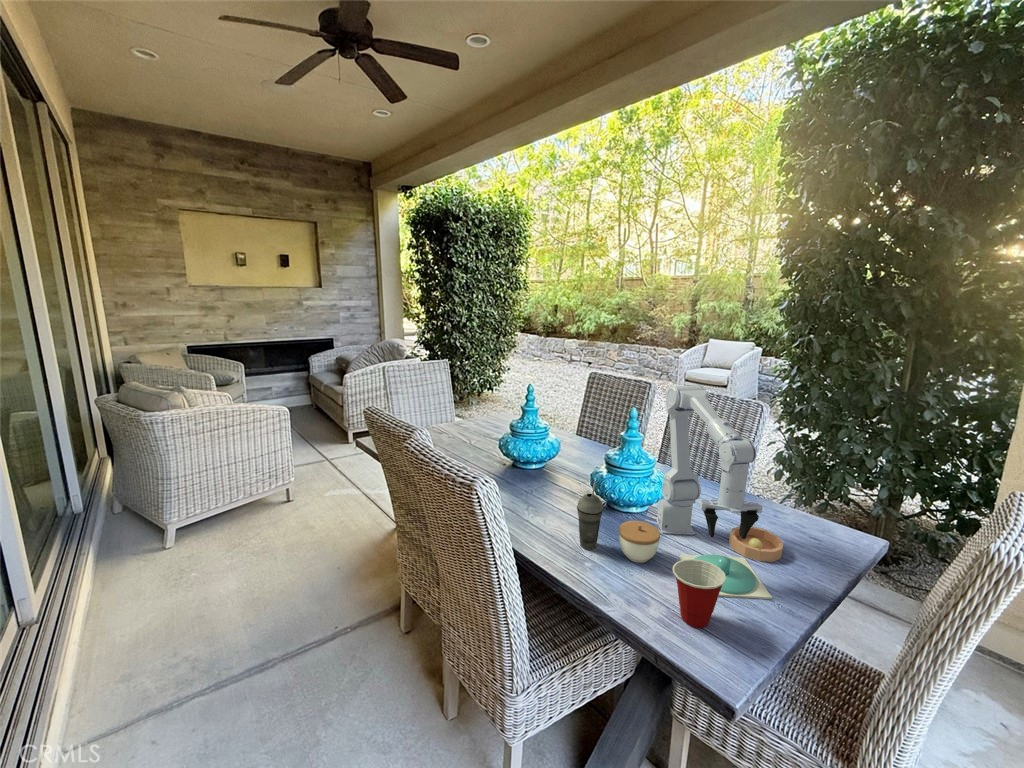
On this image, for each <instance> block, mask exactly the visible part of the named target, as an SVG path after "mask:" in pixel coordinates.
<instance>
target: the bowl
mask: <svg viewBox="0 0 1024 768" xmlns="http://www.w3.org/2000/svg"><path fill="white" fill-rule="evenodd" d="M739 529H740V525H738V526H736V527H733V528H731V531H730V533H729V539H728V544H729V545H730V547H731V548H732V550H733V551H734V552H736V553H738V554H739V555H741V556H742V557H743V558H747V559H750V560H755V561H758V562H767V563H768V562H770V563H773V562H775V561H779V560H781V559H782V555H783V548H784V542H783V540H781V539H780V537H779V536H778V535H776V534H775V533H773V532H771V531H769V530H767V529H763V528H760V527H757V526H754V525H753V526H752V527H751V528H750V530H749V532H748V534H747V536H746V538H745V539H742V538H741V536H740V535H739Z"/></svg>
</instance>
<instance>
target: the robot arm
mask: <svg viewBox="0 0 1024 768" xmlns="http://www.w3.org/2000/svg"><path fill="white" fill-rule="evenodd" d="M665 406H666V407H665V408H666V413H667V414H669V428H670V429H669V432H670V453H671V454H670V456H671V469H669V470H668V471H667V472H666V473H665V474H664V475H662V476H663V478H662V479H663V480H662V485H661V492H662V496H663V498H664V499H659V501H658V505H657V517H656V520H655V521H656V522H657V526H658V527H659V528H660V533H662V534H667V535H670V534H671V535H687V536H689V535H690V536H691V535H692V536H695V535H696V534H695V531H694V529H693V528H692V526H691V523H692V515H693V505H694V504H696V501H697V500H699V499H700V496H701V494H702V490H701V484H700V481H699V475H697V473H695V472H694V471H692V470H691V459H690V458H691V455H690V435H689V431H690V430H689V429H690V428H689V417H690V415H691V414H692V413H696V414H697V416H699V418H701V420H702V421H703V422H704V423H705V424H706V425H707V427H706V432H707V433H708V435H709V437H710V438H711V439H712V441H713V442H714V443H715V445H716V446H717V447H718V456H719V459H720V462H719V463H720V464H719V465H720V468H721V474H720V481H719V483H720V484H719V491H718V492H719V493H718V498H711V499H710V498H709V499H700V500H699V503H698V508H699V509H700V510H701V511H702V512H703V514H704V518H705V521H706V524H707V532H708V535H709V537H710V538H715V534H716V533H715V532H716V526H717V521H718V519H719V517H718V515H717V511H727V512H731V513H733V514H740V524H739V526H740V529H739V535H740V536H741V538H742V539H745V538H746V536H747V534H748V532H749V530H750V528H751V527H752V526H753V527H754V525H755V523H757V522H758V521H759V518H760V516H759V514H762V512H763V507H764V506H763V505H762V504H761V503H760V502H755V501H749V500H745V497H746V490H747V482H748V476H749V475H748V474H749V467H750V463H754V462H755V460H756V458H757V449H756V446H755V444H754V443H753V440H751V439H749V438H745V437H744V436H740V434H739V433H738V432H737V431H736V429H735V428H734V427H733V425H731V423H730V421H729V420H728V419H726V418H722V417H721V418H720V416H719V414H717V412H716V411H715V409H714V407H713V405H712V404H711V402H710V401H709V391H707V389H706V387H704V385H703V384H702V385H701V384H697V385H671V386H670V387H669V388H668V389H667V391H666V392H665Z"/></svg>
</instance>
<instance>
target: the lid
mask: <svg viewBox="0 0 1024 768" xmlns="http://www.w3.org/2000/svg"><path fill="white" fill-rule="evenodd" d="M728 557H729V556H724V555H720V554H710V553H709V554H702V555H701V556H698V557H696V558H695V560H703V561H706V562H709V563H712V564H714V565H715V566H717V567H719V568H720V569H721V570H722V571H723V572H724V573H725V576H726V581H725V582H724V584H723V585H722V587H721V591H720V592H724V593H730V594H743V593H747V592H750V591H751V590H753V588H754V587H755V583H756V578H755V576H754V574H753V573H752V571H751V570H750V569H749V568H748V567H746V566H745V565H743V564H742V563H740V562H738V561H736V560H734V559H731V558H728Z"/></svg>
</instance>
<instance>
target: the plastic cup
mask: <svg viewBox="0 0 1024 768" xmlns="http://www.w3.org/2000/svg"><path fill="white" fill-rule="evenodd" d="M672 574H673V575H674V577H675V580H676V584H677V586H676V587H677V595H678V603H679V610H680V612H679V613H680V617H681V619H682V621H683V622H684V623H685V624H686V625H688V626H690V627H692V628H696V629H704V628H706V627H707V626H708V625H709V623H710V621H711V618H712V615H713V613H714V610H715V608H716V604H717V601H718V598H719V596H718V595H719V592H720V591H721V587H722V585H723V584H724V582H725V581H726V576H725V573H724V572H723V571H722V570H721V569H720V568H719V567H717V566H715V565H714V564H712V563H709V562H706V561H703V560H695V559H687V560H681V559H680V560H679V561H677V562H675V564H673V566H672Z"/></svg>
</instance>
